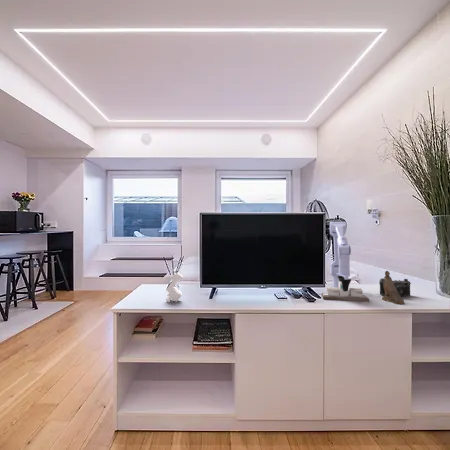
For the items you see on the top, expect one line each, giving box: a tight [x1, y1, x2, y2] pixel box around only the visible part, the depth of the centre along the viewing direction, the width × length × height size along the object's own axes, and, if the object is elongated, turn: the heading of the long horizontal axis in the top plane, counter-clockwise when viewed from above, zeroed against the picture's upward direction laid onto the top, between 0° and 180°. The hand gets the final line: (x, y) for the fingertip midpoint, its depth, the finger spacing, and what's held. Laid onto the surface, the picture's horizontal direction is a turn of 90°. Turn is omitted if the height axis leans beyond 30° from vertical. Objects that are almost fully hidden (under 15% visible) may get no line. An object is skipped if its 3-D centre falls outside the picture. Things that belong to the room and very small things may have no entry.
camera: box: [378, 278, 412, 297], centre depth 175 cm, size 18×9×10 cm, turn 84°
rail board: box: [321, 286, 370, 302], centre depth 171 cm, size 10×24×6 cm, turn 78°
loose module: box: [339, 282, 349, 296], centre depth 171 cm, size 5×4×7 cm
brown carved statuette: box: [381, 270, 405, 305], centre depth 165 cm, size 12×6×18 cm, turn 13°
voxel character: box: [165, 272, 184, 303], centre depth 167 cm, size 7×12×15 cm
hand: (344, 289), depth 171 cm, fingers open, 7 cm apart
